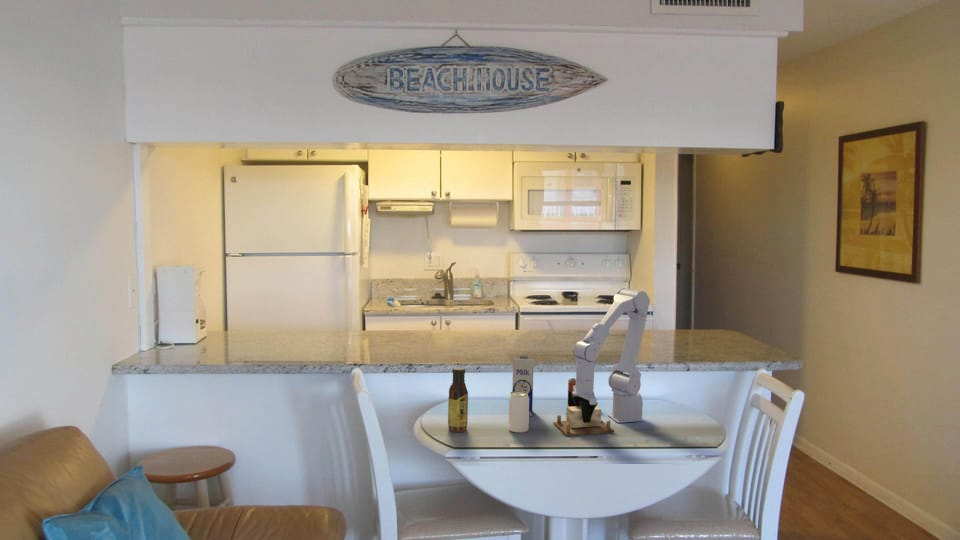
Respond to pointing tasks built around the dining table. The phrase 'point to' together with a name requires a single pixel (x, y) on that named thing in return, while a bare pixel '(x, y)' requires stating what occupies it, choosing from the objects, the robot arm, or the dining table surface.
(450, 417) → the sauce bottle
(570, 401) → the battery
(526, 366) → the milk carton
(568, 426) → the chassis
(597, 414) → the block
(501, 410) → the dining table surface
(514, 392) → the can
